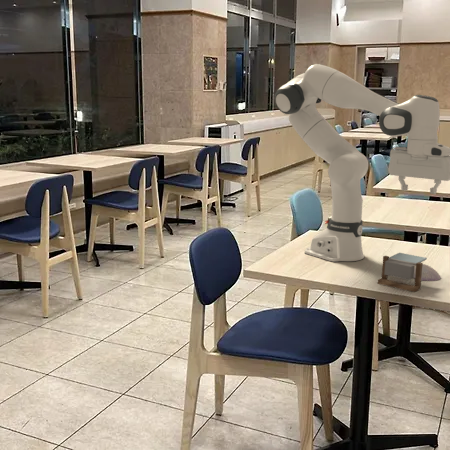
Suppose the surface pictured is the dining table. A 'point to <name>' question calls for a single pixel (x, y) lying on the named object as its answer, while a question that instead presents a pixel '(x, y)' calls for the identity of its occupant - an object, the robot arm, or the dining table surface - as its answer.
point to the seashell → (428, 273)
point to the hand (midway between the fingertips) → (418, 191)
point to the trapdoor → (402, 265)
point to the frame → (400, 285)
